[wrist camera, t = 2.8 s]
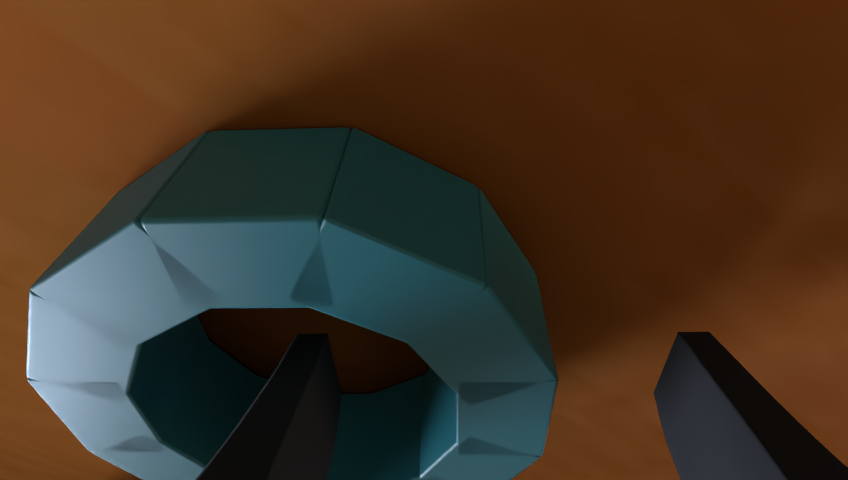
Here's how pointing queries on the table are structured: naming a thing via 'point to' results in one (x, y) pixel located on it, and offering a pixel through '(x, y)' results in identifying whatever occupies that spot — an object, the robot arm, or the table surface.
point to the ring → (296, 288)
